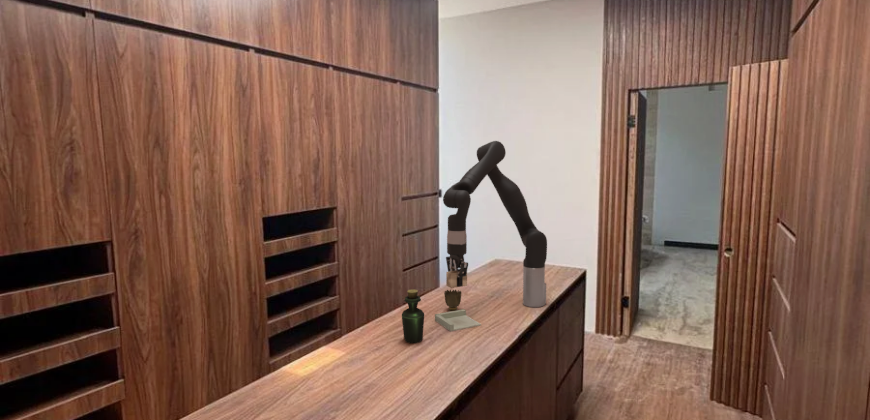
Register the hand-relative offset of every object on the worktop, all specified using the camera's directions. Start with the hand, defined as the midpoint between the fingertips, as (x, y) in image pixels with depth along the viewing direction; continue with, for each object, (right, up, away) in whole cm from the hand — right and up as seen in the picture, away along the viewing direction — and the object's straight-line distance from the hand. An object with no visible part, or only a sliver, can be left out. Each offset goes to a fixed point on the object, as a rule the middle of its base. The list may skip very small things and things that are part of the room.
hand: (456, 284), depth 178 cm
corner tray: (0, -15, +2) cm, 15 cm away
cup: (-1, -14, +17) cm, 22 cm away
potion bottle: (-16, -18, -15) cm, 28 cm away
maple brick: (0, 0, 0) cm, 0 cm away
